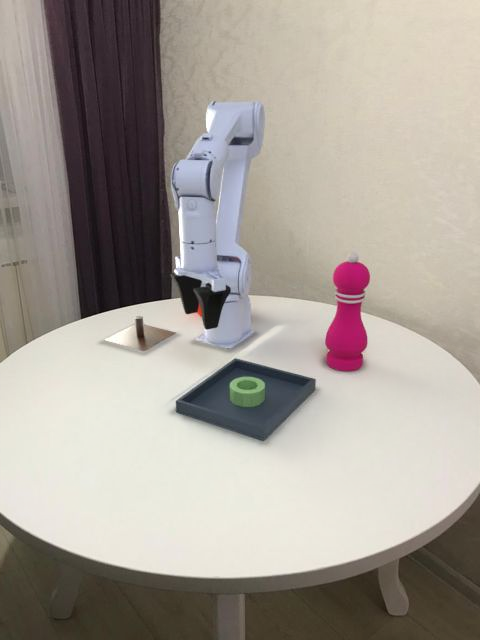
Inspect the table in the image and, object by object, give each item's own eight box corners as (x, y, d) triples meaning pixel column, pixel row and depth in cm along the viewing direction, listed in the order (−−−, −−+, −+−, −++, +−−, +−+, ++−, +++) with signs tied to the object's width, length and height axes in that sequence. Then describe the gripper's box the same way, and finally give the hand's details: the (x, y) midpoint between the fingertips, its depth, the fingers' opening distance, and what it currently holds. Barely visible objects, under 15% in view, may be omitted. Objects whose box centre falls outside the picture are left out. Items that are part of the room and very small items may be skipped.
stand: (137, 325, 121) (135, 304, 119) (176, 335, 116) (175, 314, 114) (103, 342, 113) (101, 321, 111) (144, 354, 108) (142, 331, 106)
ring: (241, 386, 95) (241, 373, 94) (270, 395, 93) (271, 381, 92) (223, 401, 91) (223, 387, 90) (253, 410, 89) (253, 396, 88)
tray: (235, 368, 103) (235, 357, 102) (315, 389, 95) (315, 378, 94) (176, 412, 89) (175, 400, 88) (263, 441, 82) (264, 429, 81)
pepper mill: (363, 355, 107) (373, 247, 98) (367, 373, 100) (378, 259, 92) (322, 354, 107) (329, 246, 99) (324, 372, 101) (332, 258, 92)
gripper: (157, 233, 96) (162, 310, 102) (194, 254, 85) (197, 340, 90) (196, 227, 99) (198, 303, 105) (237, 247, 88) (238, 331, 93)
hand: (200, 320), depth 98 cm, fingers open, 7 cm apart
